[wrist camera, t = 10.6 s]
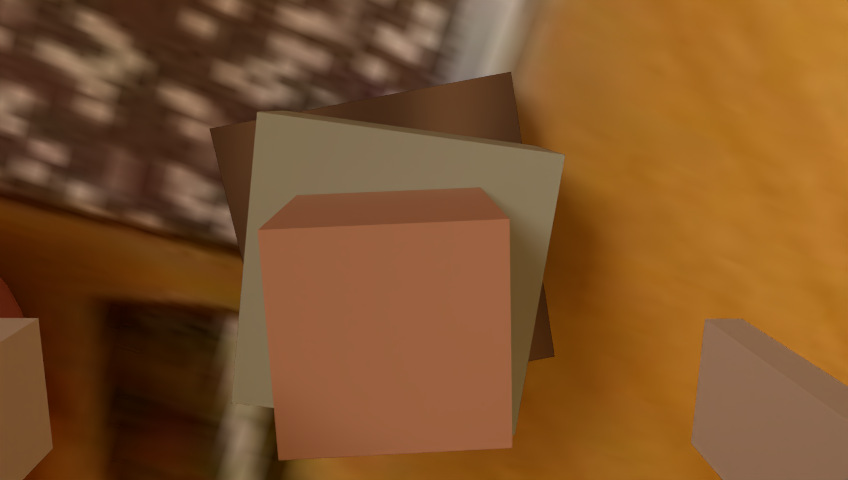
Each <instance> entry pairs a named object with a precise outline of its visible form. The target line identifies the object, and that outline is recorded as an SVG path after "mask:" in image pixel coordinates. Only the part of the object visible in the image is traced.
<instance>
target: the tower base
mask: <svg viewBox="0 0 848 480" xmlns="http://www.w3.org/2000/svg"><path fill="white" fill-rule="evenodd" d="M298 113H306V114H313V115H320V116H327V117H334V118H341V119H348V120H356V121H363V122H370V123H377V124H384V125H391V126H398V127H405V128H413V129H420V130H427V131H434V132H441V133H448V134H455V135H463V136H470V137H477V138H484V139H491V140H498V141H505V142H513V143H520V144H522V141H521V135H520V128H519V122H518V115H517V109H516V102H515V96H514V89H513V83H512V76H511V72H507V73H502V74H496V75H491V76H486V77H481V78H475V79H470V80H465V81H459V82H454V83H449V84H444V85H438V86H433V87H428V88H422V89H417V90H412V91H406V92H401V93H396V94H391V95H385V96H380V97H375V98H369V99H364V100H359V101H354V102H348V103H343V104H338V105H332V106H327V107H322V108H317V109H311V110H306V111H301V112H298ZM255 130H256V120H253V121H248V122H243V123H237V124H232V125H227V126H221V127H216V128H211V129H210V132H211V136H212V140H213V144H214V148H215V152H216V156H217V160H218V164H219V168H220V172H221V177H222V181H223V185H224V189H225V193H226V197H227V201H228V205H229V209H230V213H231V217H232V221H233V225H234V229H235V233H236V237H237V241H238V245H239V249H240V253H241V257H242V261H243V265H244V254H245V243H246V232H247V221H248V209H249V198H250V187H251V176H252V164H253V153H254V142H255ZM549 357H554V349H553V343H552V336H551V330H550V323H549V317H548V310H547V304H546V297H545V291H544V284H543V281H542V286H541V292H540V298H539V303H538V309H537V314H536V320H535V325H534V331H533V337H532V342H531V348H530V353H529V359H528V361H533V360H538V359H543V358H549Z"/></svg>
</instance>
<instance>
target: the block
mask: <svg viewBox="0 0 848 480" xmlns="http://www.w3.org/2000/svg"><path fill="white" fill-rule="evenodd" d="M258 240H259V251H260V262H261V273H262V284H263V295H264V306H265V317H266V327H267V338H268V349H269V360H270V371H271V382H272V393H273V404H274V415H275V426H276V437H277V448H278V459H279V460H295V459H314V458H333V457H352V456H371V455H390V454H408V453H427V452H446V451H465V450H484V449H503V448H512V380H511V298H510V219H509V218H508V217H507V216H506V215H505V214H504V212H503V211H502V210H501V209H500V208H499V207H498V206H497V205H496V204H495V203H494V202H493V201H492V199H491V198H490V197H489V196H488V195H487V194H486V193H485V192H484V191H483V190H482V189H481V188H480V187H476V188H452V189H429V190H405V191H382V192H359V193H335V194H312V195H296V196H295V197H294V198H293V199H292V200H291V201H289V202H288V203H287V204H286V205H285V206H284V207H283V208H282V209H280V210H279V211H278V212H277V213H276V214H275V215H274V216H273V217H272V218H270V219H269V220H268V221H267V222H266V223H265V224H264V225H263V226H262V227H260V228H259V229H258Z"/></svg>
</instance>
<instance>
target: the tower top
mask: <svg viewBox="0 0 848 480" xmlns="http://www.w3.org/2000/svg"><path fill="white" fill-rule="evenodd" d="M564 158H565V155H564V154H561V153H558V152H554V151H551V150H548V149H544V148H541V147H538V146H534V145H527V144H520V143H513V142H505V141H498V140H491V139H484V138H477V137H470V136H463V135H455V134H448V133H441V132H434V131H427V130H420V129H413V128H405V127H398V126H391V125H384V124H377V123H370V122H363V121H356V120H348V119H341V118H334V117H327V116H320V115H313V114H306V113H298V112H291V111H264V112H257V119H256V130H255V142H254V153H253V164H252V176H251V187H250V198H249V209H248V221H247V232H246V243H245V254H244V266H243V277H242V288H241V299H240V311H239V322H238V333H237V344H236V356H235V367H234V378H233V390H232V401H231V403H235V404H244V405H253V406H262V407H270V408H274V404H273V393H272V382H271V371H270V360H269V349H268V338H267V327H266V317H265V306H264V295H263V284H262V273H261V262H260V251H259V240H258V229H259V228H260V227H262V226H263V225H264V224H265V223H266V222H267V221H268V220H269V219H270V218H272V217H273V216H274V215H275V214H276V213H277V212H278V211H279V210H280V209H282V208H283V207H284V206H285V205H286V204H287V203H288V202H289V201H291V200H292V199H293V198H294V197H295V196H296V195H312V194H335V193H359V192H382V191H405V190H429V189H452V188H476V187H480V188H481V189H482V190H483V191H484V192H485V193H486V194H487V195H488V196H489V197H490V198H491V199H492V201H493V202H494V203H495V204H496V205H497V206H498V207H499V208H500V209H501V210H502V211H503V212H504V214H505V215H506V216H507V217H508V218H509V219H510V298H511V380H512V435H515V431H516V426H517V420H518V415H519V409H520V403H521V398H522V392H523V387H524V381H525V376H526V370H527V364H528V359H529V353H530V348H531V342H532V337H533V331H534V325H535V320H536V314H537V309H538V303H539V298H540V292H541V286H542V281H543V275H544V270H545V264H546V259H547V253H548V248H549V242H550V236H551V231H552V225H553V220H554V214H555V209H556V203H557V197H558V192H559V186H560V181H561V175H562V170H563V164H564Z"/></svg>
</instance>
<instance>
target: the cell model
mask: <svg viewBox="0 0 848 480" xmlns="http://www.w3.org/2000/svg"><path fill="white" fill-rule="evenodd" d="M0 318H24V315H23V313H22V311H21V309H20V307H19V305H18V303H17V301H16V299H15V297H14V295H13V293H12V291H11V290H10V289H9V287H8V286H7V284H6V283H5V281H4V280H3V279H2V277H1V276H0Z"/></svg>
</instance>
